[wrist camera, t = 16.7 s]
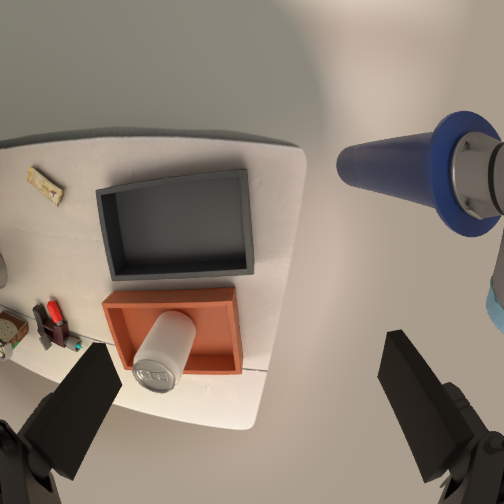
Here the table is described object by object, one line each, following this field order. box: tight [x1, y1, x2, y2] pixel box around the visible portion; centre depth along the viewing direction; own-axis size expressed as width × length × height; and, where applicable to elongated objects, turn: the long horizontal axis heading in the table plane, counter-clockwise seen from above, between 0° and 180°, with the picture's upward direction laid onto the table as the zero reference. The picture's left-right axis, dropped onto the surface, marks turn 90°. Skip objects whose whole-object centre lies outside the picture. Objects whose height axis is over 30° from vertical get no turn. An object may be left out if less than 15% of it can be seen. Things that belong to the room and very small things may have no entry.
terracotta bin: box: [102, 287, 243, 375], centre depth 40 cm, size 20×13×4 cm, turn 94°
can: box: [132, 311, 196, 393], centre depth 36 cm, size 6×6×12 cm
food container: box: [0, 311, 29, 360], centre depth 40 cm, size 12×6×10 cm, turn 81°
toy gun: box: [33, 301, 82, 352], centre depth 41 cm, size 10×12×5 cm
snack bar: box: [27, 167, 64, 206], centre depth 35 cm, size 10×2×3 cm
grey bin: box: [96, 169, 254, 281], centre depth 35 cm, size 20×13×4 cm, turn 94°
